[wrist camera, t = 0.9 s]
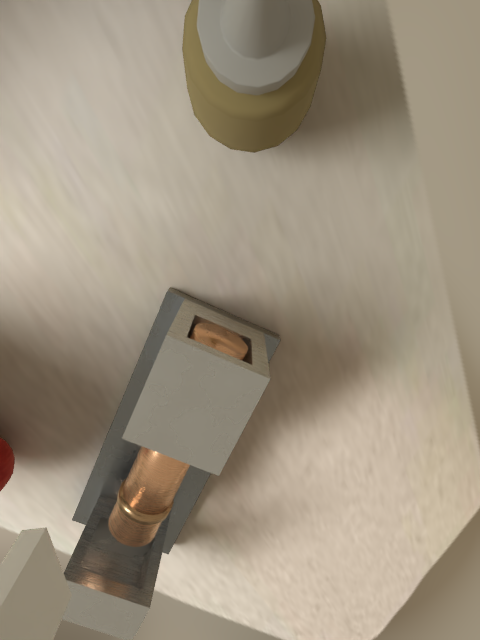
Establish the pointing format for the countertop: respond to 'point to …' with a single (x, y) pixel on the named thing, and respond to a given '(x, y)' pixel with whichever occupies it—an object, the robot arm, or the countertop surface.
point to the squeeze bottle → (252, 67)
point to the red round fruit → (5, 463)
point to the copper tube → (160, 466)
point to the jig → (168, 439)
